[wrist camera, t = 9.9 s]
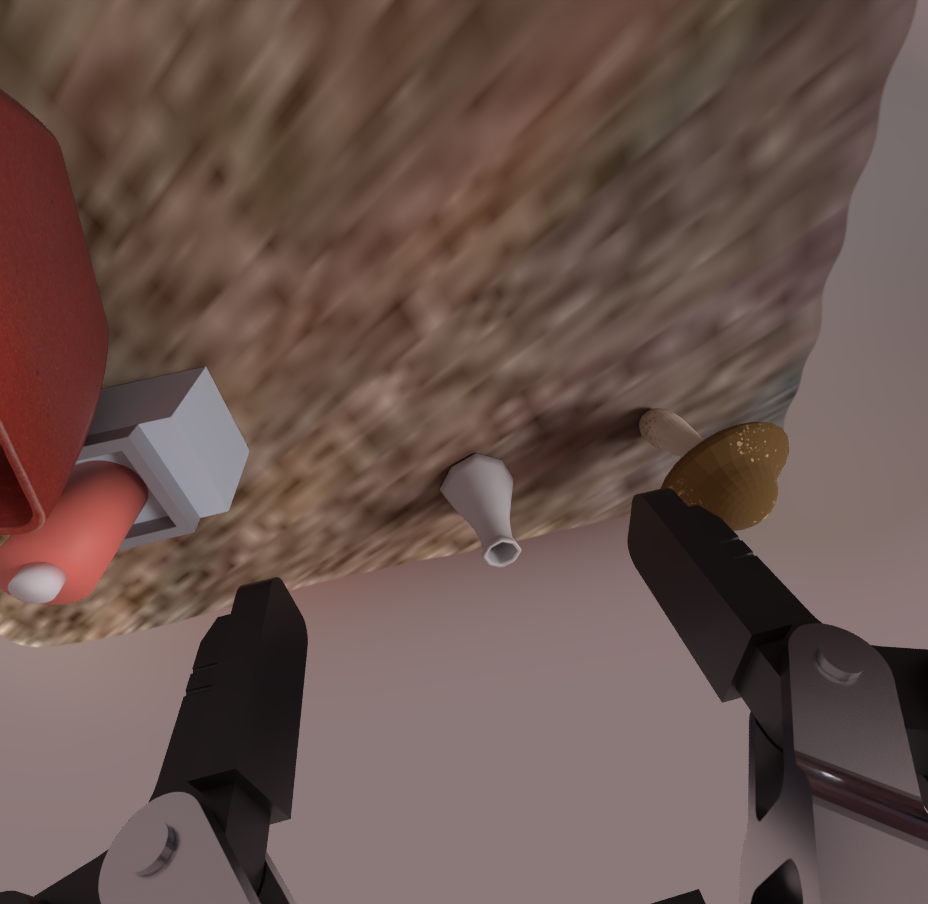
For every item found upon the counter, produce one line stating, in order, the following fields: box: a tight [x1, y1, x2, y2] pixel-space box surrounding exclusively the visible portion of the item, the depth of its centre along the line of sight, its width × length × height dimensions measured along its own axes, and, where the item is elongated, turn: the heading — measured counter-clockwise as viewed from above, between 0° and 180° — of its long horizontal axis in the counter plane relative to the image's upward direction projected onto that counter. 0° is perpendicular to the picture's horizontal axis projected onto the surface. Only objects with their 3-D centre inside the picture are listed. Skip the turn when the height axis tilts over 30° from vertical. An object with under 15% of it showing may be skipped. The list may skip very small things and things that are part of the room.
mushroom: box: [639, 409, 789, 531], centre depth 40 cm, size 9×11×15 cm
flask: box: [440, 453, 521, 568], centre depth 42 cm, size 7×7×10 cm
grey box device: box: [74, 367, 249, 551], centre depth 33 cm, size 8×12×10 cm, turn 99°
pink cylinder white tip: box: [0, 460, 148, 605], centre depth 27 cm, size 5×5×8 cm
